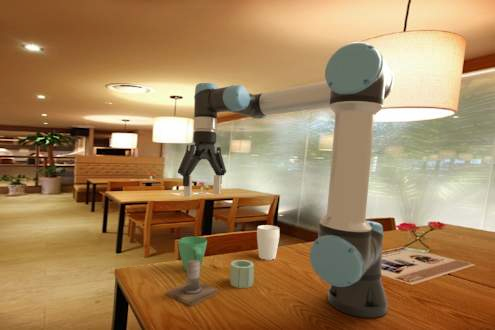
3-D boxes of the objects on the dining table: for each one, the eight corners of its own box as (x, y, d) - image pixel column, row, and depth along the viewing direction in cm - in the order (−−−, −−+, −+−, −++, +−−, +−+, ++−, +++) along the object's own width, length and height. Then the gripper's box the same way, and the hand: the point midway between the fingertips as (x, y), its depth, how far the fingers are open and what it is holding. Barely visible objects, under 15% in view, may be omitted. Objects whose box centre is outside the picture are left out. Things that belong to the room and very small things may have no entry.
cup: (278, 254, 120) (279, 225, 120) (278, 262, 111) (280, 230, 111) (256, 253, 121) (257, 224, 121) (255, 260, 112) (256, 229, 112)
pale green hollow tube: (257, 282, 91) (257, 263, 91) (243, 289, 86) (244, 269, 86) (239, 276, 95) (240, 258, 95) (225, 283, 90) (226, 264, 90)
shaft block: (217, 293, 83) (218, 261, 83) (191, 306, 75) (192, 271, 75) (193, 283, 89) (194, 254, 89) (166, 294, 81) (167, 262, 81)
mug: (174, 265, 103) (175, 237, 103) (201, 262, 107) (202, 235, 107) (183, 281, 90) (184, 249, 90) (213, 277, 94) (214, 246, 94)
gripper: (221, 135, 109) (219, 191, 109) (167, 127, 89) (165, 196, 89) (237, 134, 105) (235, 193, 105) (184, 126, 84) (181, 199, 85)
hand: (203, 195), depth 97 cm, fingers open, 13 cm apart
